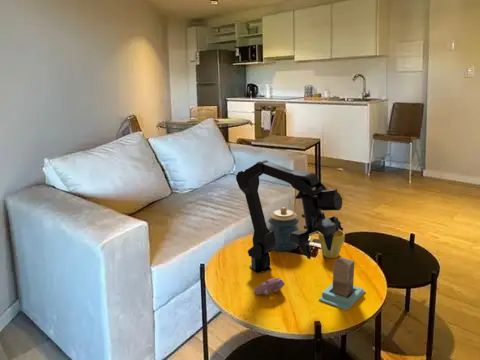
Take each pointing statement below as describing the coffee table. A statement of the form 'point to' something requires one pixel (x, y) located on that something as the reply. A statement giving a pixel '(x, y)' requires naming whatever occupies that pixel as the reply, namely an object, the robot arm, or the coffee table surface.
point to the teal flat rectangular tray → (339, 300)
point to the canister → (283, 228)
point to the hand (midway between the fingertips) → (319, 254)
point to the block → (343, 277)
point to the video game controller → (269, 286)
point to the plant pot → (336, 244)
